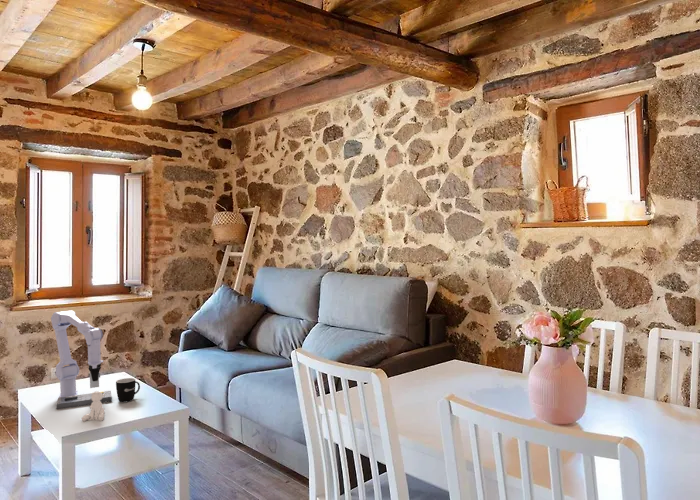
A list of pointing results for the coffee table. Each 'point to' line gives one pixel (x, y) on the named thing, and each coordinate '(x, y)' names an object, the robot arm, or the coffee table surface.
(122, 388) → the mug
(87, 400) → the panel
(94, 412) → the seated beast figurine
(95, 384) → the plug
